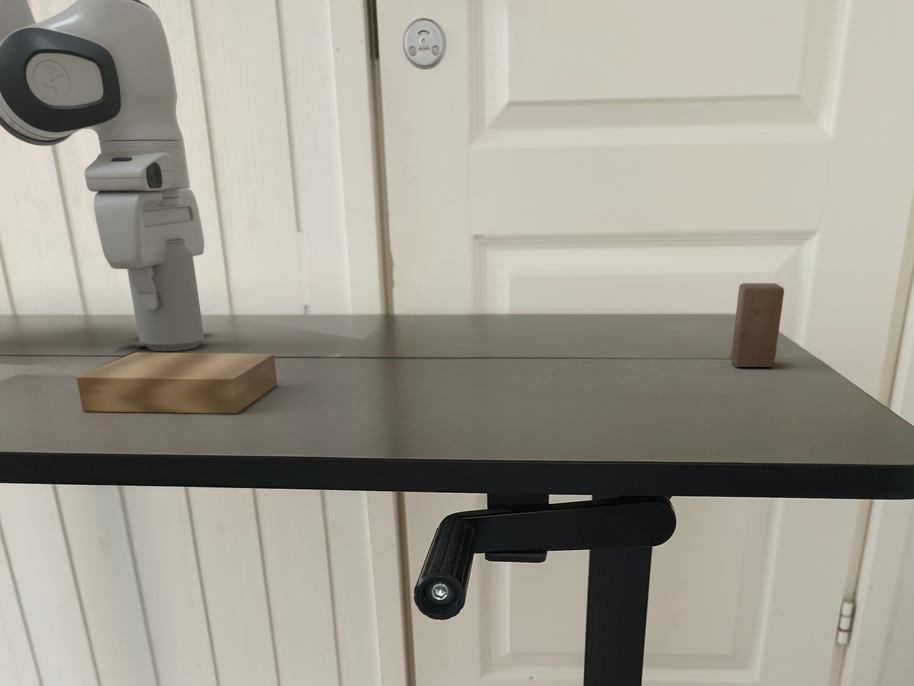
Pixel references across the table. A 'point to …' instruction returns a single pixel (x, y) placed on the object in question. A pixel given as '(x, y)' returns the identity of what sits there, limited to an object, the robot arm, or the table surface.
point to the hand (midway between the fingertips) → (167, 303)
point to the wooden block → (757, 324)
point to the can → (171, 304)
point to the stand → (178, 383)
